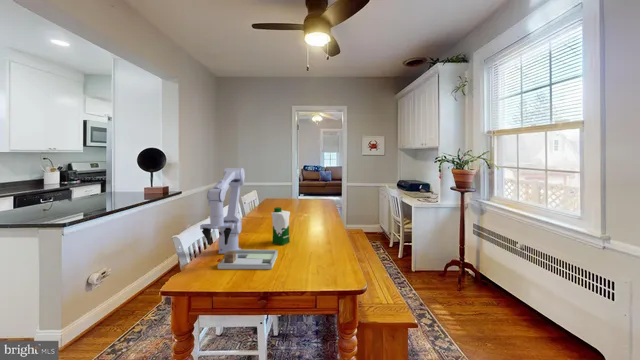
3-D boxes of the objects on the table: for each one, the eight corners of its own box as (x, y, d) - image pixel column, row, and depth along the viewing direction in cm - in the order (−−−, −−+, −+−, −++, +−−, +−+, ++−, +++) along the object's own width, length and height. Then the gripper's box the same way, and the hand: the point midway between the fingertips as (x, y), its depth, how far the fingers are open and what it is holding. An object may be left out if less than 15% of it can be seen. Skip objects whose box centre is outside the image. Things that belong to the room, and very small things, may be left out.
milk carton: (280, 239, 166) (279, 206, 164) (292, 242, 161) (291, 207, 159) (270, 243, 158) (269, 208, 156) (282, 246, 154) (282, 210, 152)
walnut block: (224, 263, 127) (224, 254, 126) (227, 259, 131) (227, 251, 130) (233, 263, 127) (232, 254, 126) (235, 259, 131) (235, 251, 130)
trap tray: (217, 268, 124) (217, 262, 124) (229, 255, 140) (229, 249, 140) (271, 269, 124) (271, 262, 124) (277, 255, 140) (277, 249, 140)
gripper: (197, 217, 123) (198, 247, 124) (230, 217, 123) (231, 246, 125) (203, 213, 130) (204, 242, 131) (234, 213, 130) (235, 241, 132)
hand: (217, 244), depth 128 cm, fingers open, 7 cm apart
